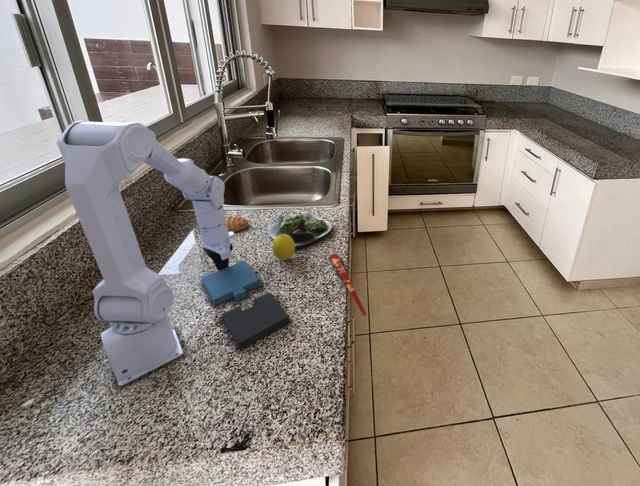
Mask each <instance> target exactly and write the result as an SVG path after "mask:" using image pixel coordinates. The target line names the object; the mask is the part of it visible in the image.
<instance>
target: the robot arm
mask: <svg viewBox="0 0 640 486" xmlns="http://www.w3.org/2000/svg"><path fill="white" fill-rule="evenodd" d="M56 145H57V147H58V149H59V152H60V155H61V157H62V160H63V162H64V184H65V185H64V186H65V188H66V192H67V194H68V196H69V199H70V201H71V204H72V206H73V208H74V211H75V213H76V215H77V218H78V221H79V223H80V225H81V227H82V230H83V233H84V235H85V238H86V241H87V242H88V245H89V246H90V249H91V252H92V255H93V256H94V259H95V261H96V264H97V266H98V269H99V271H100V274H101V276H102V278H103V279H102V280H100V282H98V284H97V285H96V286H95V287H94V289H93V290H91V293H92V295H93V298H94V305H93V313H94V316H95V318H96V319H97V320H98V321H100V322H105V323H106V322H108V324H109V328H107V329H106V330H104V331H102V332H101V333H100V338H101V342H102V347H103V349H104V353H105V356H106V358H107V360H108V364H109V367H110V369H111V370H112V373H113V374H114V377H115V378H116V379H115V380H117V385H118V386H119V387H123V386H125V385H127V384H129V383H131V382H133V381H134V380H137V379H139V378H140V377H143V376H144V375H146V374H148V373H150V372H152V371H154V370H156V369H158V368H160V367H162V366H164V365H166V364H168V363H171V361H174V360H175V359H178V358H180V357H182V356H183V355H184V351H183V348H182V346H181V342H180V340H179V338H178V335H177V332H176V330H175V329H174V328H173V326H172V325H171V322H170V321H171V320H170V318H169V315H168V314H169V313H170V311H171V309H172V307H173V304H174V292H173V289H172V288H171V287H170V286H169V285H168V284H167V283H166V282H165V279H164V277H163V276H162V275H161V274H159V273H157V272H156V271H154V270H152V269H150V268H149V267H147V265H146V263H145V260H144V257H143V254H142V251H141V248H140V246H139V242H138V239H137V237H136V234H135V231H134V228H133V224H132V222H131V220H130V216H129V214H128V210H127V208H126V205H125V202H124V199H123V196H122V193H121V191H120V190H121V189H120V187H119V186H120V184H121V183H122V182H123V181H125V180H129V178H130V177H131V176H132V175H133V174H134V173H136V171H137V170H138V169H139V168H140V167H141V166H142V164H146V165H149V166H150V167H151V168H152V169H153V168H154V169H156V170H157V171H159V172H161V173H163V178H164V180H165V182H166V183H168V184H170V185H171V186H173V187H175V188H176V189H178V190H180V191H181V193H182V196H183V198H184V199H185V200H188V201H191V203H192V206H193V207H192V208H193V210H194V214H195V218H196V222H197V223H196V224H197V227H198V230H199V234H200V235H199V236H200V239H201V240H200V241H201V242H200V243H201V246H202V250H203V251H204V252H205V254H206V256H207V257H208V258H209V259H211V261H212V262H213V264H214V266H215V268H216V270H217V271H219V270H222V269H224V268H227V267H229V266H230V258H232V257H233V256H232V251H233V249H234V246H233V244H232V243H231V239H232V238H235V237H236V235H235V232H228V228H227V223H226V218H225V216H226V214H225V210H224V203H225V197H224V195H225V191H226V190H225V188H226V187H225V182H224V181H223V180H222V179H221V178H220V177H218V176H217V175H209V173H207V172H206V170H204V169H202V168H200V167H199V166H198V165H196V164H195V163H194V160H193V159H192V158H177V157H176V156H175V155H174V154H173V153H171V151H169V150H168V149H167V148H165V146H163V145H162V144H160V142H158V141H157V136H156V133H155V131H152V130H151V129H149V128H148V126H146V125H144V123H141V122H134V121H133V122H107V121H105V122H104V121H100V122H99V121H88V120H77V121H73V122H71V123H70V124H69V125H68V126H66V128H65V129H64V130H63V132H62V133H61V135H60V136H59V138H58V139H57V140H56Z"/></svg>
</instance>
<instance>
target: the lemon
mask: <svg viewBox="0 0 640 486" xmlns="http://www.w3.org/2000/svg"><path fill="white" fill-rule="evenodd" d="M271 248H272V253H273V255H274V256H275V258H276V259H278V260H281V261H287V260H289V259H291V258H292V257H293V256H294V254H295V250H296V249H295V244H294V241H293V239H292V237H290V236H289V235H286V234H281V235H279V236H277V237H276V238H275V239H273V241H272V247H271Z"/></svg>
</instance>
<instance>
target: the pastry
mask: <svg viewBox="0 0 640 486" xmlns="http://www.w3.org/2000/svg"><path fill="white" fill-rule="evenodd" d="M225 218H226V223H227V228H228V232H233V233H236V232H240V231H243V230H244V229H247V227H248V226H249V219H247V218H243V217H240V216H237V215H236V216H233V215H228V216H227V215H225Z"/></svg>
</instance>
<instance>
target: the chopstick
mask: <svg viewBox="0 0 640 486" xmlns="http://www.w3.org/2000/svg"><path fill="white" fill-rule="evenodd" d="M329 258H330V260H331V261H332V264H333V266H334V267H335V269H336V271H337V272H338V274H339V276H340V278H341V279H342V281H343V283H344V284H345V286H346V288H347V290H348V292H349V294H350V295H351V296H352V298H353V300H354V302H355V303H356V305H357V307H358V309H359V311H360V312H361V314H362V315H363V316H366V315H367V312H366V310H365V308H364V306H363V304H362V302H361V300H360V298H359V296H358V294H357V292H356V290H355V287H354V286H353V284H352V282H351V280H350V277H349V275H348V273H347V271H346V269H345V267H344V265H343V262H342V261H341V259H340V257H339V254H338V253H334V254H330V255H329Z"/></svg>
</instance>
